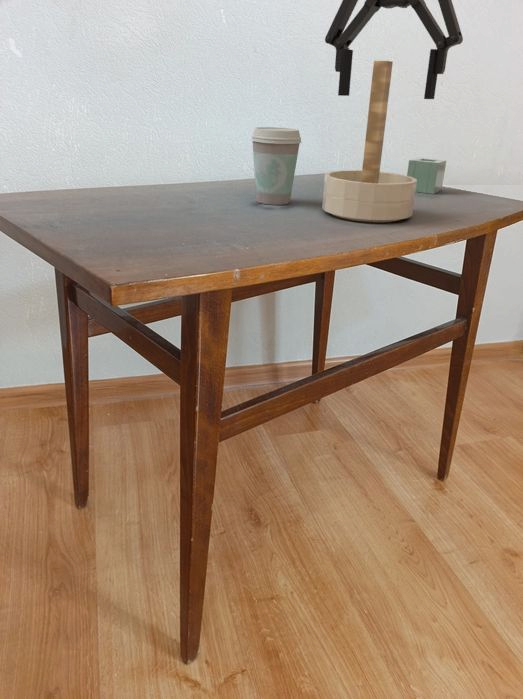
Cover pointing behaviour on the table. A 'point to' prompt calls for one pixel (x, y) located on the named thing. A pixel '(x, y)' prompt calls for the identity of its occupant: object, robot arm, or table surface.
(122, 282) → the table surface
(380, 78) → the stick
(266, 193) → the coffee cup
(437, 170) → the holder
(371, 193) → the bowl
